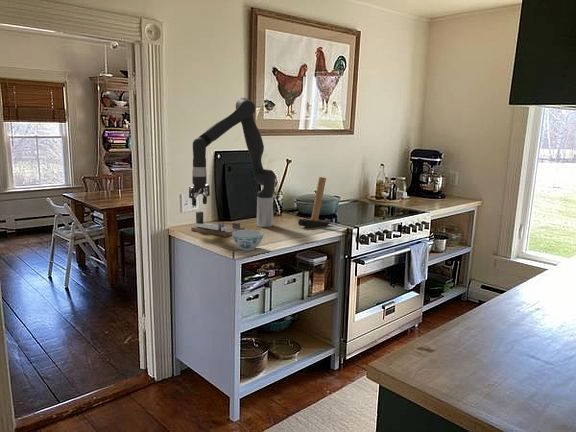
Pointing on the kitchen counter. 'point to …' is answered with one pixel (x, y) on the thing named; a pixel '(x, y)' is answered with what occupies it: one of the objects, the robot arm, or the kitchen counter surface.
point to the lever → (210, 226)
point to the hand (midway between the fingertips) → (199, 204)
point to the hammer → (316, 208)
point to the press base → (227, 232)
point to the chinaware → (247, 238)
